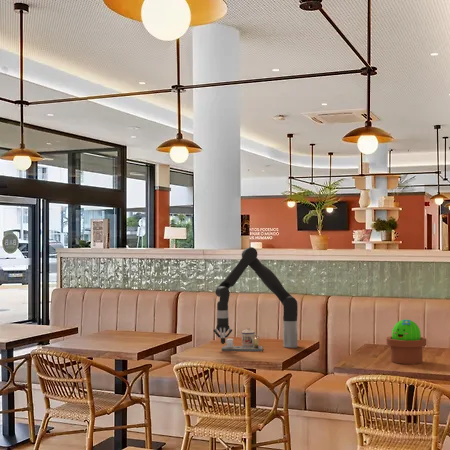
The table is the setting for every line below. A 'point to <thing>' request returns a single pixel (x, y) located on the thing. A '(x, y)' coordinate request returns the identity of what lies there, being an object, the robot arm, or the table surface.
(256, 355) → the table surface
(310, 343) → the table surface
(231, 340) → the light grey block
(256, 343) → the plate
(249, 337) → the teacup with lid
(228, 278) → the robot arm
